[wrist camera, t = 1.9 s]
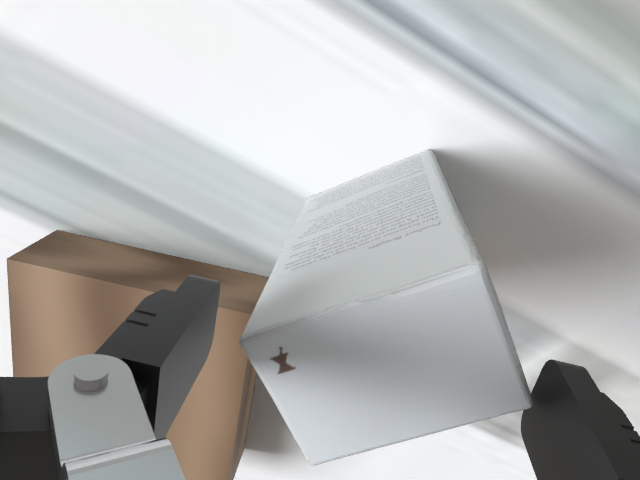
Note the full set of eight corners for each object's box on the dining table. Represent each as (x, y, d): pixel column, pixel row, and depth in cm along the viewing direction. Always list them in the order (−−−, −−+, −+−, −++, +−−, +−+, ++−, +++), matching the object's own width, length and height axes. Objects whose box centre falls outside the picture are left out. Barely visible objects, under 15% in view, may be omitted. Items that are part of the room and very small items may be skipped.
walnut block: (273, 274, 25) (254, 315, 22) (245, 443, 29) (225, 501, 26) (61, 227, 26) (6, 259, 22) (63, 399, 30) (17, 450, 26)
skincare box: (342, 276, 24) (303, 473, 13) (305, 196, 23) (228, 339, 12) (467, 232, 23) (540, 414, 12) (434, 144, 22) (482, 254, 11)
